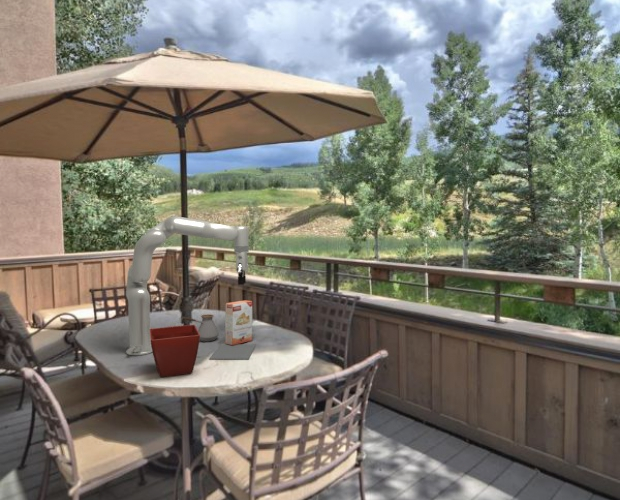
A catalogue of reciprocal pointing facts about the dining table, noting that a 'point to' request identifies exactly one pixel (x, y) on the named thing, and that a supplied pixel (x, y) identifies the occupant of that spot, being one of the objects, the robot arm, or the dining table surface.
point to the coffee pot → (206, 328)
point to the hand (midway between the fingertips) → (241, 283)
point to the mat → (233, 352)
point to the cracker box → (238, 322)
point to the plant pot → (175, 349)
